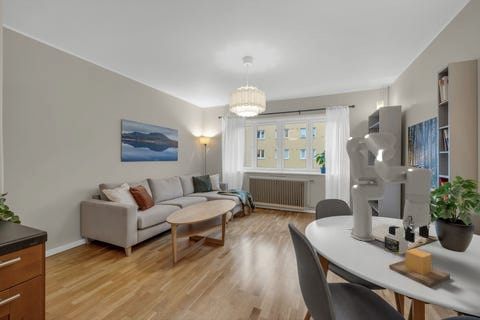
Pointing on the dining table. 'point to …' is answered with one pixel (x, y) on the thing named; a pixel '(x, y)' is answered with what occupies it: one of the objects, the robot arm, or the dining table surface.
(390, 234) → the medicine bottle
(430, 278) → the walnut board
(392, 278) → the dining table surface
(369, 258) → the dining table surface
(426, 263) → the plain orange cube
